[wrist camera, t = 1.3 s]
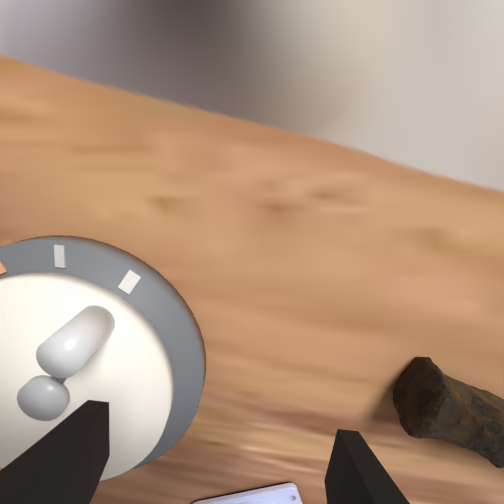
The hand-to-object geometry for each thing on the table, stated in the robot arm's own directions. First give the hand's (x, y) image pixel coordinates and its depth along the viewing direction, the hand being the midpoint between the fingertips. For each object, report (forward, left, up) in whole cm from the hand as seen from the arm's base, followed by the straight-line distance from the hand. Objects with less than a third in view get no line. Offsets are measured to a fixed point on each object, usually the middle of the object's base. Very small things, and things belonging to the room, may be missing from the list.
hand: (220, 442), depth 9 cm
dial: (-1, +11, -8) cm, 13 cm away
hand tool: (-13, -16, -10) cm, 23 cm away
